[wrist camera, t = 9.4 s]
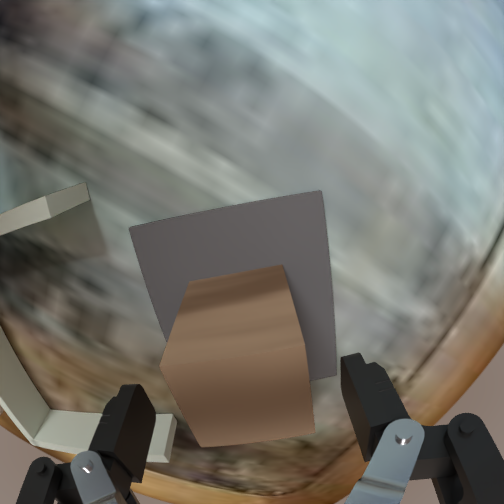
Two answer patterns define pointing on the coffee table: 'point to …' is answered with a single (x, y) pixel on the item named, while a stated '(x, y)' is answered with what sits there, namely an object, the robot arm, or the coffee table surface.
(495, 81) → the coffee table surface
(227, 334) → the walnut block
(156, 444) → the open-side box
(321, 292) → the charcoal mat
